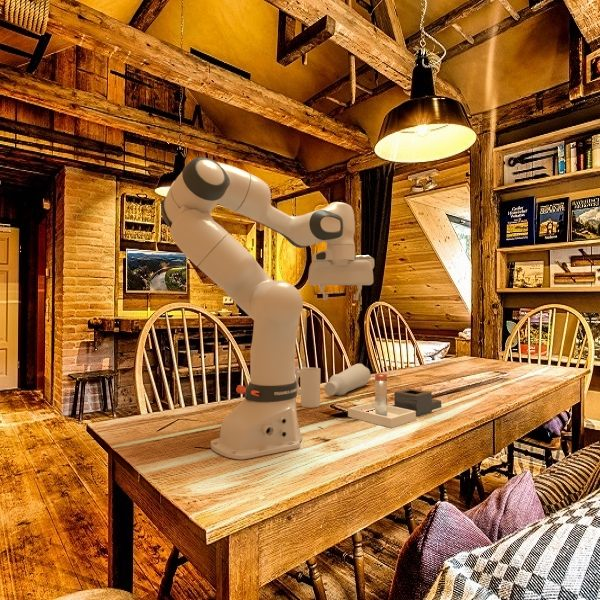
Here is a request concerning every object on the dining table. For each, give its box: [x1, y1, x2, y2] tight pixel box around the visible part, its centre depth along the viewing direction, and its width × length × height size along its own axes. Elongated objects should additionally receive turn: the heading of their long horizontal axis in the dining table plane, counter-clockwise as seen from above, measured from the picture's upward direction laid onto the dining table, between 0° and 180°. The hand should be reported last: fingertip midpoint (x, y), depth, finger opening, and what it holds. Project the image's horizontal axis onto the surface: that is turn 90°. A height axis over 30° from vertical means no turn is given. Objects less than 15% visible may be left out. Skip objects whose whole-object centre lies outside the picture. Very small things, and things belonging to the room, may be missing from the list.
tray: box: [347, 401, 417, 429], centre depth 122 cm, size 12×16×2 cm
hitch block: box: [393, 388, 442, 418], centre depth 132 cm, size 16×8×6 cm, turn 131°
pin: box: [374, 373, 388, 417], centre depth 122 cm, size 3×3×12 cm
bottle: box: [323, 363, 371, 397], centre depth 160 cm, size 9×9×30 cm
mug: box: [295, 367, 321, 409], centre depth 139 cm, size 10×7×12 cm, turn 47°
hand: (340, 299), depth 131 cm, fingers open, 8 cm apart
